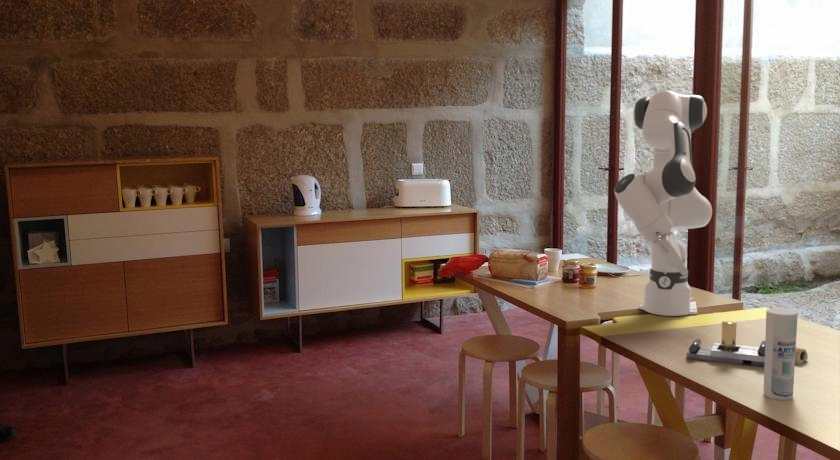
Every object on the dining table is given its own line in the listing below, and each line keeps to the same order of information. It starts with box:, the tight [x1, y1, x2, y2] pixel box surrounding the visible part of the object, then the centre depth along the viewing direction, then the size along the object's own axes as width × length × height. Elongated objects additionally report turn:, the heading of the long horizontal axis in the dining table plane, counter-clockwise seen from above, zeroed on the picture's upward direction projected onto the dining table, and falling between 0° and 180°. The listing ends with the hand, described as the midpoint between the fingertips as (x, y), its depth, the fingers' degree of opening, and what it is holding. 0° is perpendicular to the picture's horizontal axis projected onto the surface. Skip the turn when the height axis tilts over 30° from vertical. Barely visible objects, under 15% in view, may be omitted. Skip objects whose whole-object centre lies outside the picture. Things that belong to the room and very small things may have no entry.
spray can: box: [763, 307, 799, 401], centre depth 180 cm, size 6×6×20 cm
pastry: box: [795, 347, 809, 365], centre depth 209 cm, size 9×7×4 cm
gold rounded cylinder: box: [720, 320, 738, 352], centre depth 209 cm, size 4×4×10 cm
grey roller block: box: [686, 338, 765, 368], centre depth 209 cm, size 20×8×5 cm, turn 61°
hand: (684, 268), depth 216 cm, fingers open, 8 cm apart
